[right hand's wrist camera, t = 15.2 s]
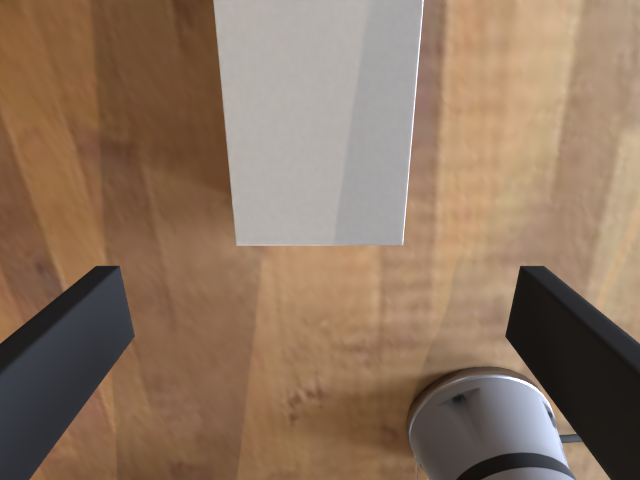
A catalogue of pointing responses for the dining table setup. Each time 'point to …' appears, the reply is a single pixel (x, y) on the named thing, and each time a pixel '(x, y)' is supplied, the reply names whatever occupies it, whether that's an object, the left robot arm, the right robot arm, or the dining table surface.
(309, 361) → the dining table surface
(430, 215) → the dining table surface
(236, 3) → the cabinet
